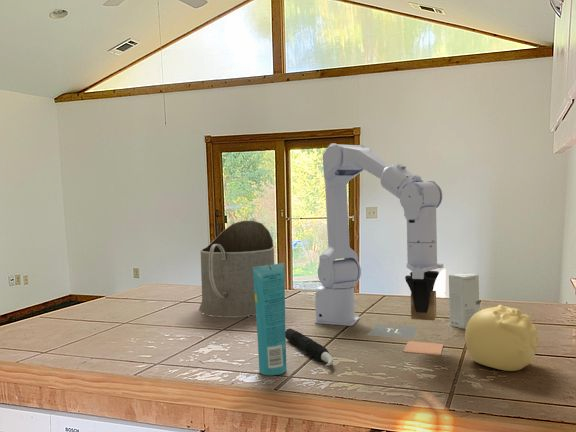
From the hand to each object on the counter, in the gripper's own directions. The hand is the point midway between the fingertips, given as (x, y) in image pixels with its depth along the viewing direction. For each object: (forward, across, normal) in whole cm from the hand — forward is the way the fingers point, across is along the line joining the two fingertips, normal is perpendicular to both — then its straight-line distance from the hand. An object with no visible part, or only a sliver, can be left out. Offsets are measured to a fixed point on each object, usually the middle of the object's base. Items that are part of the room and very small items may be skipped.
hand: (423, 309), depth 94 cm
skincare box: (+8, +21, -7) cm, 24 cm away
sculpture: (+8, -5, -14) cm, 17 cm away
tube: (+8, -21, +24) cm, 33 cm away
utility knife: (+8, -10, +21) cm, 25 cm away
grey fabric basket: (+8, +19, +54) cm, 58 cm away
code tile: (+8, +11, +8) cm, 16 cm away
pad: (+8, 0, 0) cm, 8 cm away
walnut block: (+2, 0, 0) cm, 2 cm away
